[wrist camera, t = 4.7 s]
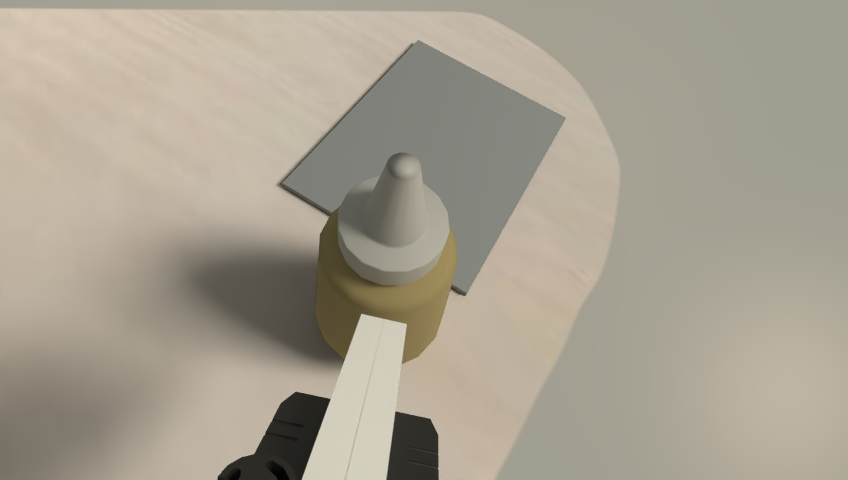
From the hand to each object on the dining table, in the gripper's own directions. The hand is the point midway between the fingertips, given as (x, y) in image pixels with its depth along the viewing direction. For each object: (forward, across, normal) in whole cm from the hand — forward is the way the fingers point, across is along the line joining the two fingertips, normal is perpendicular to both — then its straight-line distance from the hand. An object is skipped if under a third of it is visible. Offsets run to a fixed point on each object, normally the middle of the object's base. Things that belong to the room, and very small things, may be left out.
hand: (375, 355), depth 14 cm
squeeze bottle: (+15, -1, -7) cm, 17 cm away
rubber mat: (+26, +1, +4) cm, 26 cm away
